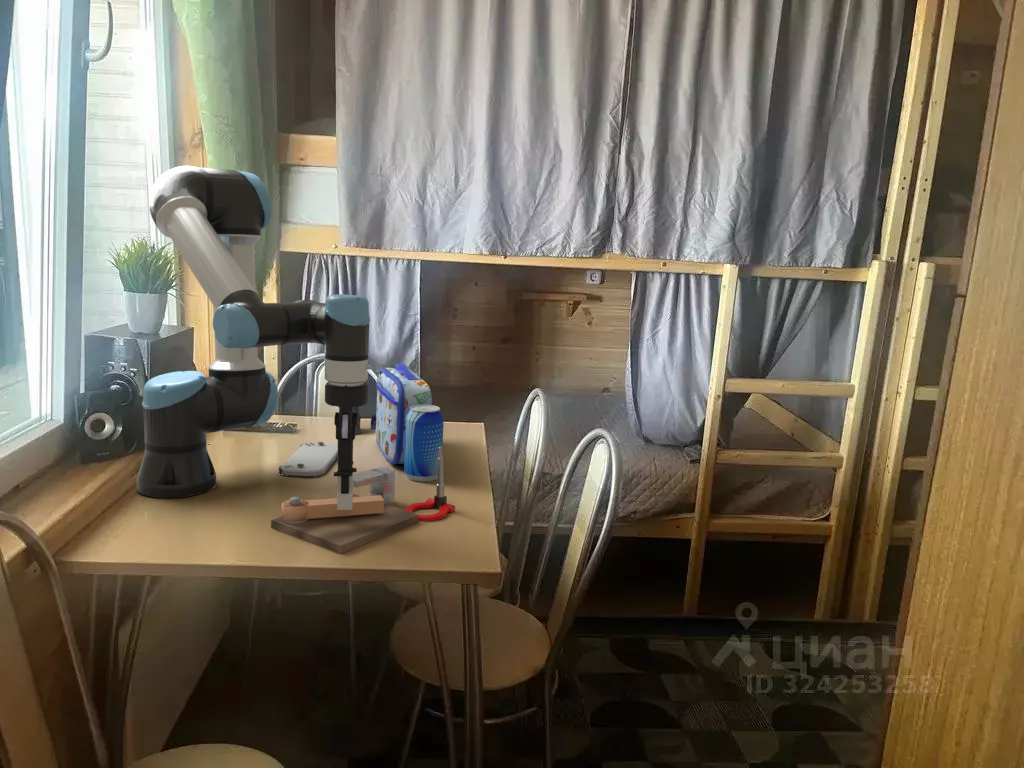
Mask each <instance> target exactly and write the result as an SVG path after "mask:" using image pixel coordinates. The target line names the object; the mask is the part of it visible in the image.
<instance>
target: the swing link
mask: <svg viewBox="0 0 1024 768" xmlns="http://www.w3.org/2000/svg"><path fill="white" fill-rule="evenodd" d="M360 496H361V495H360ZM280 505H281V516H282V519H283V520H285V521H291V522H296V521H302V520H305V519H312V518H325V517H338V516H351V515H364V514H377V513H384V500H383V498H382V496H381V495H376V496H370V495H364V496H361V497H353V507H352V510H337V497H336V498H335V497H334V498H321V499H320V498H319V499H308V500H307V499H306V500H305V499H301V497H299V496H292V497H289V499H288V500H284V501H283V502H282V503H280Z"/></svg>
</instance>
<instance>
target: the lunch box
mask: <svg viewBox="0 0 1024 768" xmlns="http://www.w3.org/2000/svg"><path fill="white" fill-rule="evenodd" d="M394 366H395V367H384V368H381V369H380V370H379V371H378V374H377V378H376V385H375V386H376V413H375V414H373V415H371V416H370V417H371V418H370V431H375V442H376V445H377V446H378V448H379V449H380V451H381V453H382V455H383V456H384V458H385V459H386V461H388V462H389V463H390V464H393V465H397V464H400V465H404V460H405V426H406V416H407V414H408V413H409V411H410V410H411V409H410V407H411V406H414V405H433V397H432V391H431V387H430V385H429V384H428V383H427V382H426V381H425V380H423V379H422V378H421V377H420V376H419V375H418V374H416V372H414V371H413V370H411V369H410V368H408V366H407V364H406V362H403V363H398V364H395V365H394Z"/></svg>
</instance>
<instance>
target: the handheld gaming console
mask: <svg viewBox="0 0 1024 768" xmlns="http://www.w3.org/2000/svg"><path fill="white" fill-rule="evenodd" d="M336 459H338V444H335V443H334V444H333V443H325V442H323V441H321V442H320V441H319V442H307V443H306V442H305V443H303V444H300V445H299V448H298V449H297V450H296V451H295V452H294V453H293V454H292V455H291V456H290V457H289V458H287V460H286V461H285V462H283V464H282V465H279V467H278V475H279V474H280V475H279V476H282V475H281V474H283V476H284V475H288V476H287V477H292V476H304V477H303V478H315V477H314V476H317V477H321V476H322V474H323V475H324V474H325V473H326V472H327V471H328V470H329V468H330V467H331V466H332V464H333V463H334V462H335V461H336ZM320 475H321V476H320ZM305 476H306V477H305Z"/></svg>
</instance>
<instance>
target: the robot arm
mask: <svg viewBox="0 0 1024 768" xmlns="http://www.w3.org/2000/svg"><path fill="white" fill-rule="evenodd" d="M148 198H149V199H148V207H149V213H150V215H151V219H152V221H153V223H154V224H155V226H156V228H157V229H158V231H159V232H160V233H161V234H162V235H164V236H165V237H166V238H168V239H169V238H170V240H171V241H172V243H173V245H174V246H175V247H176V249H177V250H178V252H179V254H180V255H181V257H182V258H183V260H184V261H185V263H186V265H187V266H188V268H189V270H190V271H191V272H192V274H193V275H194V277H195V279H196V280H197V282H198V284H199V285H200V287H201V288H202V290H203V291H204V293H205V294H206V296H207V298H208V299H209V301H210V302H211V304H212V308H213V309H212V312H213V318H212V328H213V332H214V334H213V335H214V353H215V355H214V356H215V358H214V360H213V361H212V362H211V363H210V364H209V365H208V367H207V371H208V376H207V377H206V375H205V374H204V373H203V372H201V371H199V370H185V371H180V370H179V371H172V372H167V373H164V374H160V375H157V376H154V377H152V378H150V379H149V380H147V381H146V383H145V384H144V386H143V393H142V394H143V395H142V402H141V405H142V409H143V412H142V413H143V431H144V432H143V433H144V454H143V458H142V461H141V464H140V468H139V471H138V475H137V476H136V490H137V492H138V493H139V494H141V495H143V496H146V497H152V498H162V499H163V498H165V499H168V498H169V499H172V498H174V499H175V498H184V497H191V496H196V495H200V494H203V493H206V492H209V491H211V490H212V489H214V488H215V487H216V486H217V471H216V469H215V466H214V465H213V464H214V463H212V458H211V457H210V455H209V451H208V447H207V446H208V445H207V434H210V433H217V432H218V433H219V432H223V431H229V430H236V429H237V430H238V429H250V428H252V427H255V426H259V425H264V424H266V423H268V422H269V421H270V419H271V418H272V417H273V416H274V414H275V411H276V410H277V405H278V400H279V389H278V388H279V387H278V384H277V383H276V379H275V377H274V376H273V374H272V373H270V372H268V371H266V368H267V367H266V364H265V363H264V362H263V361H262V360H260V358H259V357H258V356H259V351H258V350H259V349H258V348H259V347H260V348H263V347H270V346H271V347H272V346H286V345H287V346H288V345H301V344H319V345H323V346H324V350H325V352H324V355H325V356H324V357H325V358H324V380H325V381H327V382H326V383H325V385H324V402H325V404H326V405H328V406H331V407H338V408H339V409H338V410H339V411H338V412H337V411H336V412H334V418H333V419H334V425H335V439H336V440H337V445H338V457H337V471H334V472H333V476H334V477H337V481H336V482H337V488H336V489H337V491H336V492H337V493H336V494H337V495H336V496H337V497H336V498H337V510H352V507H353V494H354V493H353V492H354V487H353V474H354V473H357V467H354V466H353V465H354V457H353V456H354V440H356V435H355V434H356V425H357V413H353V407H354V406H357V407H358V406H359V407H362V406H365V405H366V404H367V403H368V401H369V400H368V399H369V397H368V396H369V394H368V393H369V385H368V383H367V380H368V378H369V372H368V370H372V364H371V363H368V362H369V349H370V348H369V347H370V343H369V342H370V322H371V316H370V308H369V306H370V305H369V304H370V303H369V299H368V298H367V297H366V296H363V295H355V294H345V293H344V294H342V293H341V294H338V293H337V294H330V295H328V296H326V298H325V299H326V300H325V302H319V301H316V300H312V299H309V300H307V299H300V300H296V301H293V302H264V301H263V300H262V298H261V297H260V295H259V294H258V293H257V291H256V277H255V274H256V273H255V272H256V271H255V269H256V268H255V248H254V246H255V244H256V243H257V242H258V241H259V240H260V239H261V238H262V235H261V230H263V229H265V228H266V227H267V226H268V225H269V223H270V218H272V210H273V209H272V200H271V197H270V193H269V190H268V188H267V186H266V184H265V182H263V180H262V179H261V178H260V176H257V175H256V174H254V173H252V172H246V171H240V170H239V169H236V170H235V169H225V168H223V169H221V168H210V167H209V168H208V167H198V166H192V165H181V166H176V167H174V168H171V169H168V170H167V171H165V172H163V173H162V174H161V175H160V176H159V177H158V178H157V180H156V181H155V182H154V184H153V186H152V188H151V190H150V193H149V197H148Z"/></svg>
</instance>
